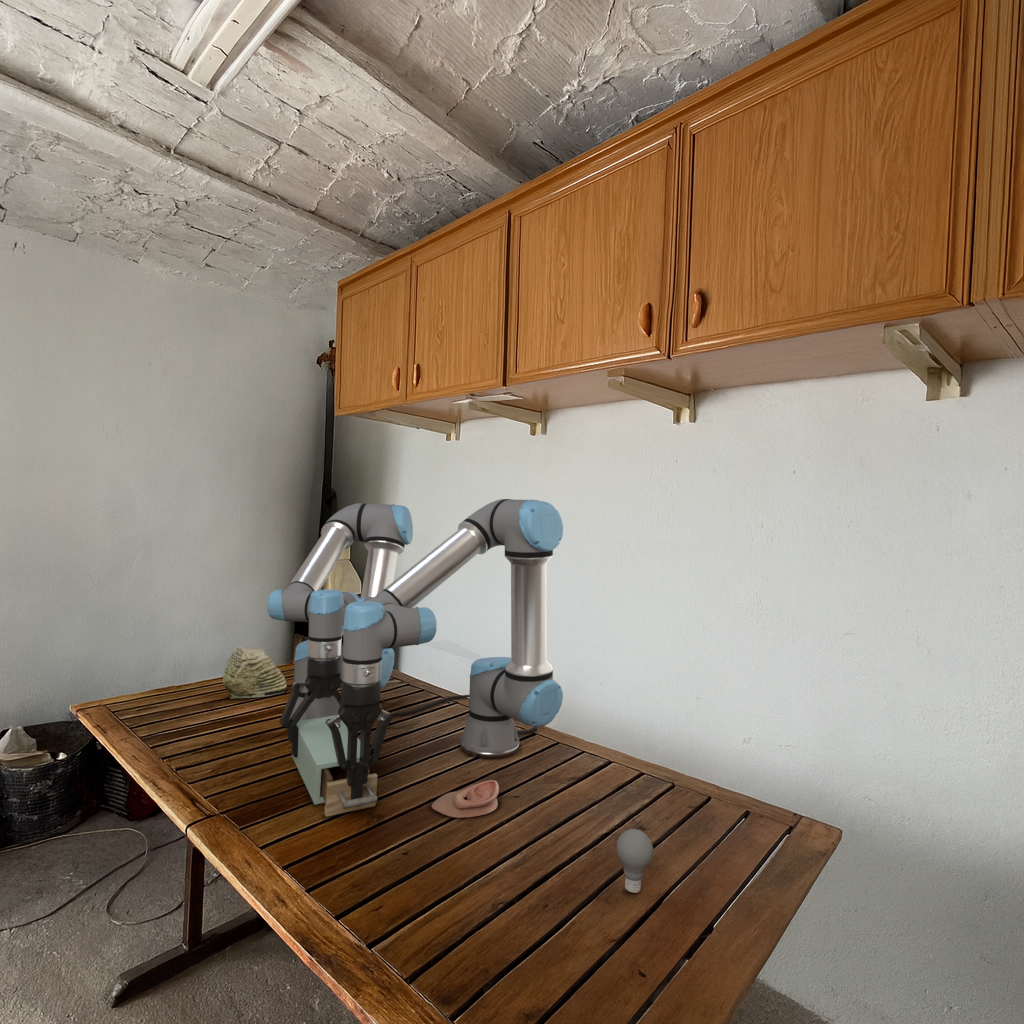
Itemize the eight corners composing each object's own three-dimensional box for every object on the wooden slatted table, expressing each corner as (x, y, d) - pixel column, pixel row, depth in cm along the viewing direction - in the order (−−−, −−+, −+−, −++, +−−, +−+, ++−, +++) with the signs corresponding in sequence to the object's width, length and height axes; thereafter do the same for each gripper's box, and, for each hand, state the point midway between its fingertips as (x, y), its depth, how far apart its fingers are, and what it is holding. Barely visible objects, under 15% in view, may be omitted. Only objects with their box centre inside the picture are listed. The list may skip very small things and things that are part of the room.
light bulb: (610, 879, 108) (613, 822, 108) (644, 879, 109) (647, 822, 109) (619, 902, 102) (622, 840, 102) (655, 901, 103) (658, 840, 103)
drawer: (384, 820, 125) (386, 789, 124) (333, 832, 120) (335, 799, 119) (346, 759, 147) (348, 732, 146) (302, 767, 142) (303, 739, 141)
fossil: (218, 695, 195) (220, 647, 195) (278, 685, 208) (279, 640, 207) (228, 703, 189) (230, 653, 188) (289, 692, 201) (290, 645, 201)
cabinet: (367, 793, 136) (370, 755, 135) (314, 804, 130) (316, 765, 129) (339, 748, 154) (341, 714, 153) (291, 756, 148) (293, 721, 148)
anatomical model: (427, 794, 128) (444, 771, 139) (426, 813, 128) (443, 788, 139) (490, 803, 125) (503, 779, 137) (489, 823, 126) (502, 797, 137)
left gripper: (274, 665, 138) (270, 765, 138) (379, 656, 150) (375, 747, 150) (267, 658, 144) (264, 753, 144) (368, 649, 157) (365, 737, 157)
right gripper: (332, 691, 117) (327, 816, 118) (399, 683, 124) (394, 802, 125) (322, 679, 124) (318, 798, 124) (387, 673, 130) (382, 786, 131)
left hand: (321, 750), depth 147 cm, fingers closed on cabinet, 11 cm apart
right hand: (356, 800), depth 124 cm, fingers closed
